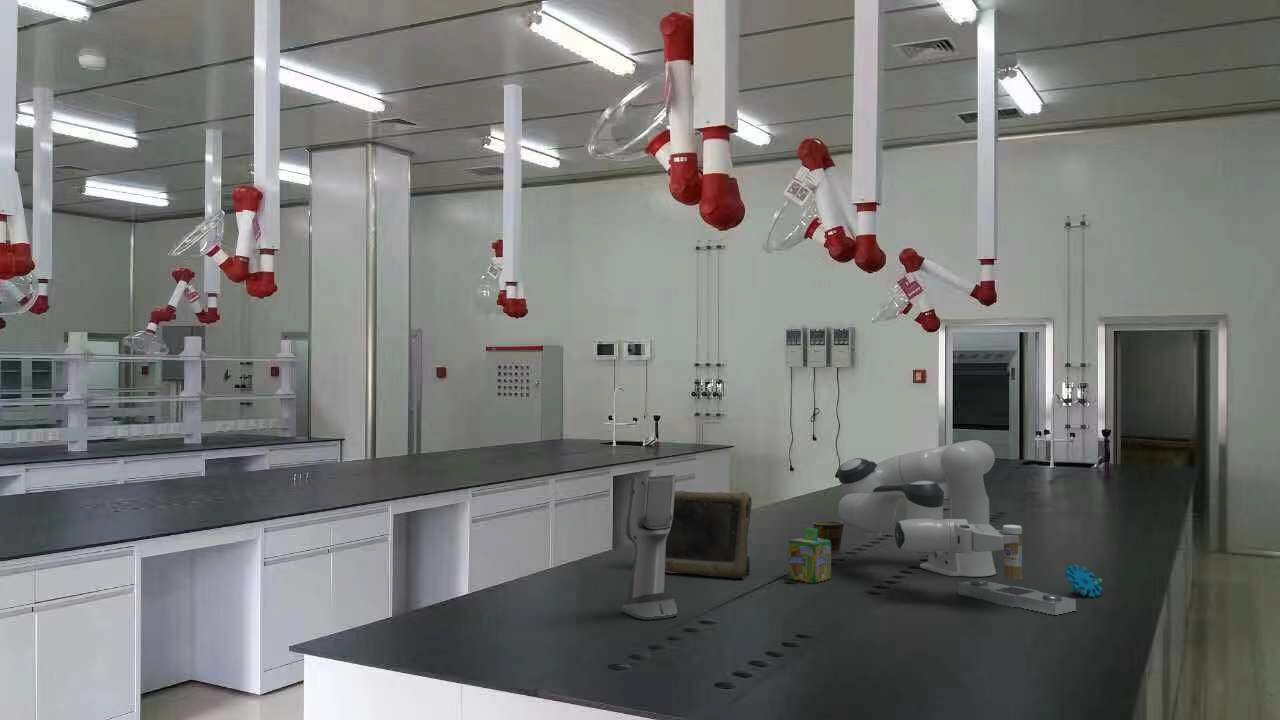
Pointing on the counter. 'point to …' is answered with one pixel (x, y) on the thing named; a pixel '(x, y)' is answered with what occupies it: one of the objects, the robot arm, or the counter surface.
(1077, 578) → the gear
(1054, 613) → the grey long flat block
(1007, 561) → the sprinkles bottle
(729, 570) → the brown frame
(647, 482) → the thermal camera
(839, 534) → the brown tapered cylinder
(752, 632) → the counter surface
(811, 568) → the chalk box
